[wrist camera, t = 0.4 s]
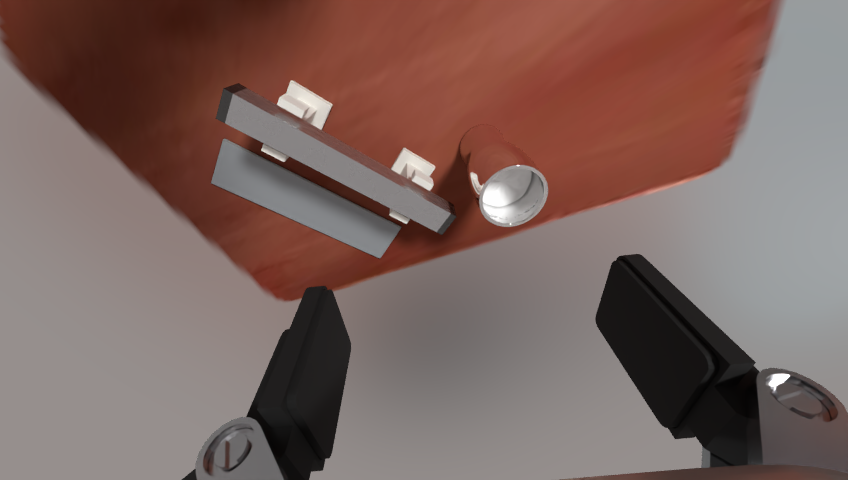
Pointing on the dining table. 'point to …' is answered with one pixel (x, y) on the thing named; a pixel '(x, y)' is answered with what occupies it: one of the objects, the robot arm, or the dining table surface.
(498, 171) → the silver metal cup
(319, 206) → the mat
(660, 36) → the dining table surface
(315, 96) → the standard left
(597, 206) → the dining table surface
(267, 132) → the steel rail
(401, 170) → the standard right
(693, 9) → the dining table surface
